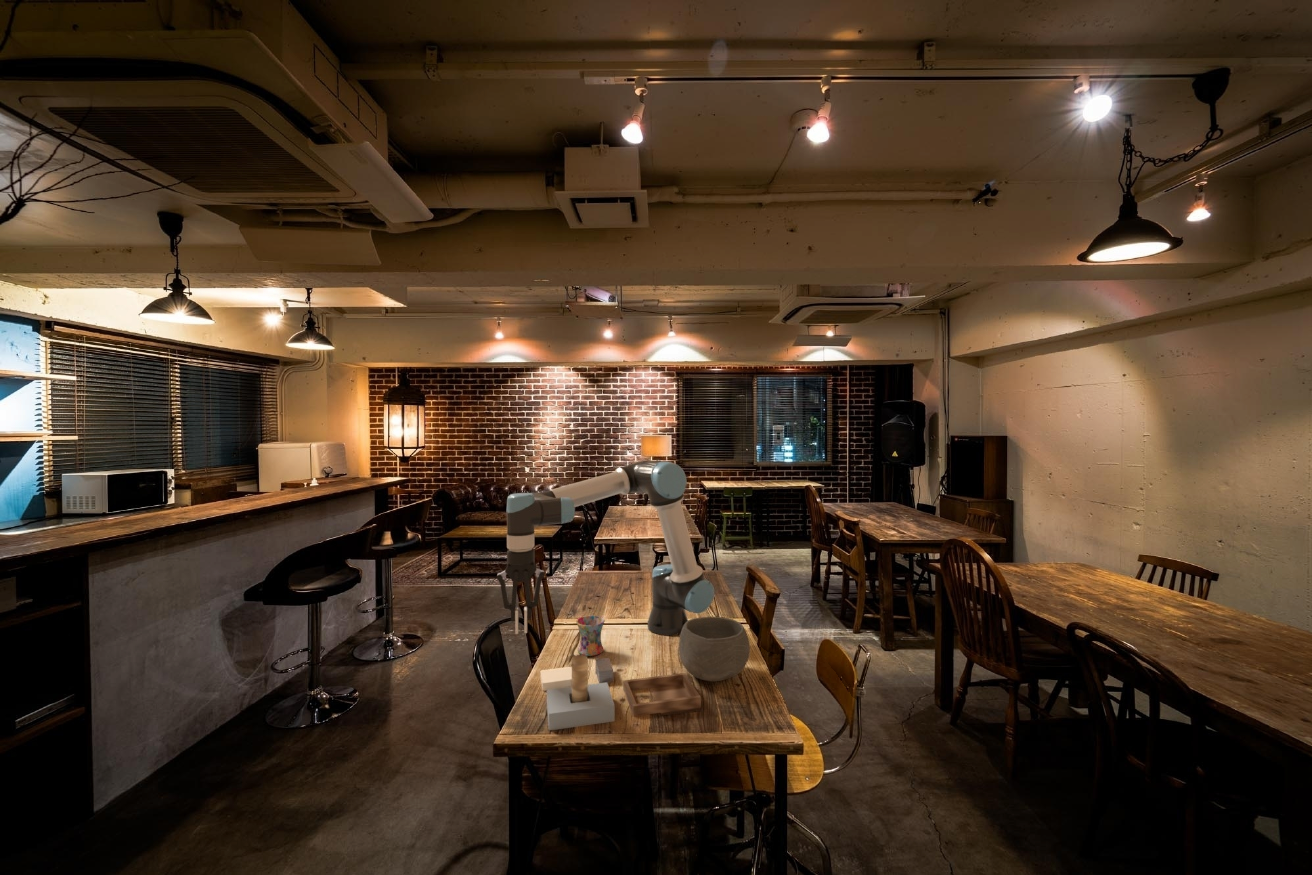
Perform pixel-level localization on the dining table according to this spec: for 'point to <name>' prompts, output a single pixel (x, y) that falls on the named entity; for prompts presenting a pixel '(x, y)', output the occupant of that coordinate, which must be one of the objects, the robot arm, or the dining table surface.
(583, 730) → the dining table surface
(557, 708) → the dowel block
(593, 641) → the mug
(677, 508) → the robot arm
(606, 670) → the block
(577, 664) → the dowel
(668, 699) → the tray
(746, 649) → the bowl
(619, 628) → the dining table surface
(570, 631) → the dining table surface
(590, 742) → the dining table surface
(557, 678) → the cream rectangular block
